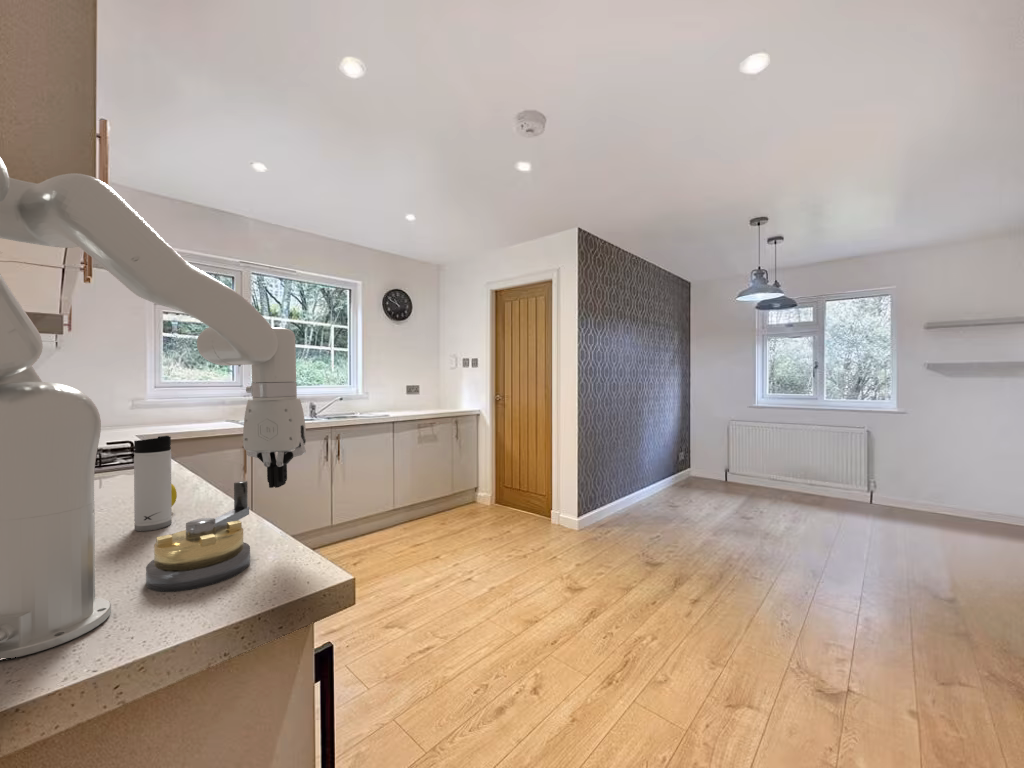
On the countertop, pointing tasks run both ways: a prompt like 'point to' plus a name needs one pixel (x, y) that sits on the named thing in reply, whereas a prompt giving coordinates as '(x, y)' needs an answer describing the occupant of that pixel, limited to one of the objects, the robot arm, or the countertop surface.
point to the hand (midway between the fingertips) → (277, 485)
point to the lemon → (173, 494)
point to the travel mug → (152, 483)
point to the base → (196, 574)
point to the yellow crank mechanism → (205, 538)
